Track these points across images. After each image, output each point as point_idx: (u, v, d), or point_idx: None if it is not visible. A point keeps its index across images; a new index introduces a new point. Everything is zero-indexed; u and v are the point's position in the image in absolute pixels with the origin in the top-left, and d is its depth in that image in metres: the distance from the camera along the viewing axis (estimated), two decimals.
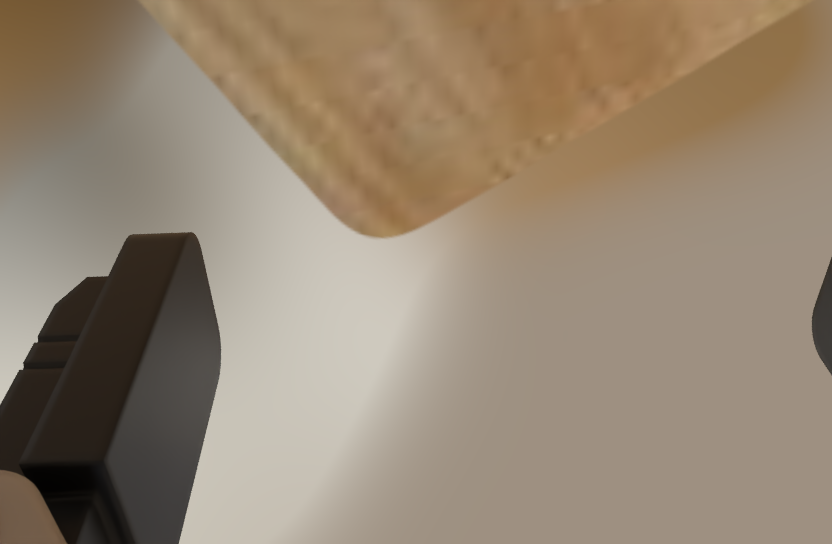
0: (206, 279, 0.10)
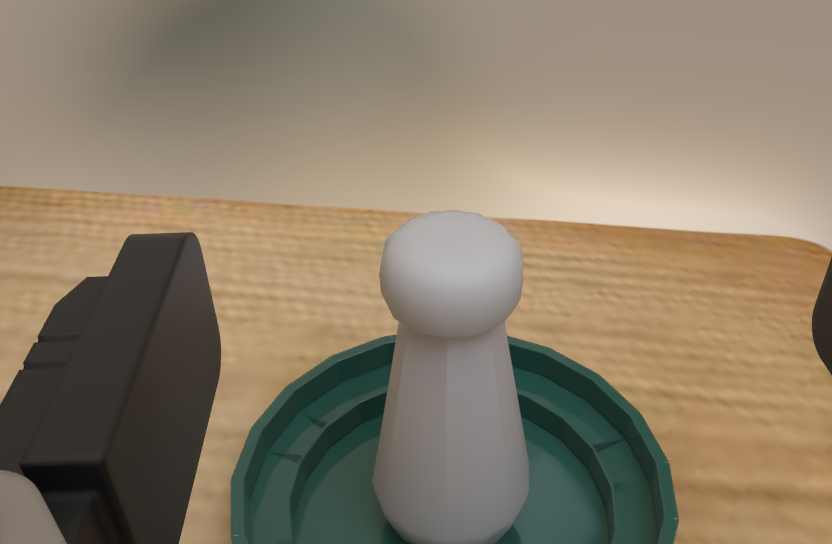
0: (206, 279, 0.10)
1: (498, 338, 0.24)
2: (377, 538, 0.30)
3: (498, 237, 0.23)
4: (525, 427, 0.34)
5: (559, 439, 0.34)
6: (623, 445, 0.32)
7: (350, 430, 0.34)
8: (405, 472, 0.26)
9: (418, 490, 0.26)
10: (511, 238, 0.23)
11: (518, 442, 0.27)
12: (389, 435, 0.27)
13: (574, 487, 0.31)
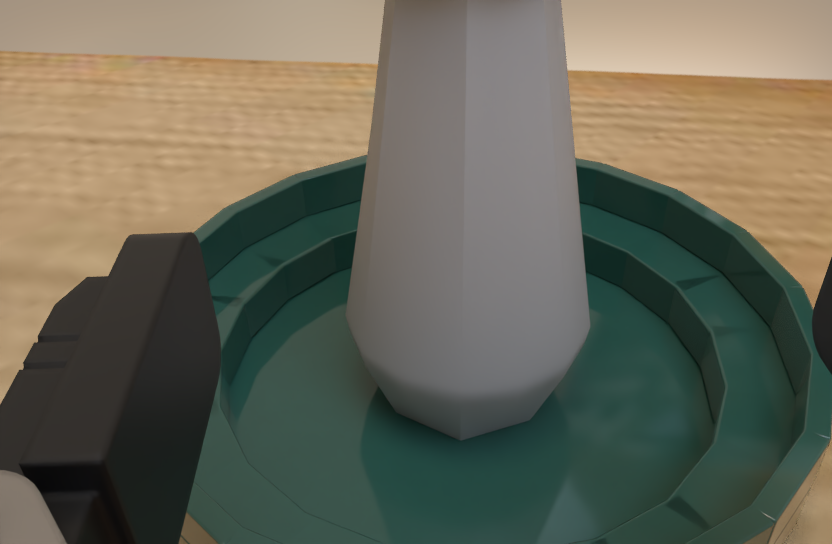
0: (206, 279, 0.10)
1: (553, 15, 0.14)
2: (355, 410, 0.20)
3: None
4: None
5: (620, 287, 0.23)
6: (720, 282, 0.21)
7: (319, 280, 0.24)
8: (395, 273, 0.16)
9: (416, 302, 0.16)
10: None
11: (578, 231, 0.17)
12: (370, 217, 0.16)
13: (648, 344, 0.21)
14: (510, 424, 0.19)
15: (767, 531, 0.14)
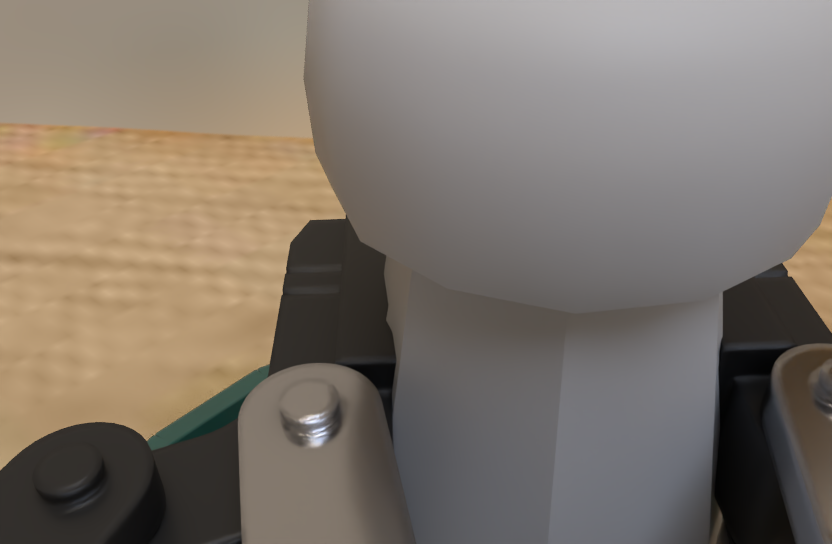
0: None
1: (720, 321, 0.07)
2: None
3: None
4: None
5: None
6: None
7: None
8: None
9: None
10: None
11: None
12: None
13: None
14: None
15: None
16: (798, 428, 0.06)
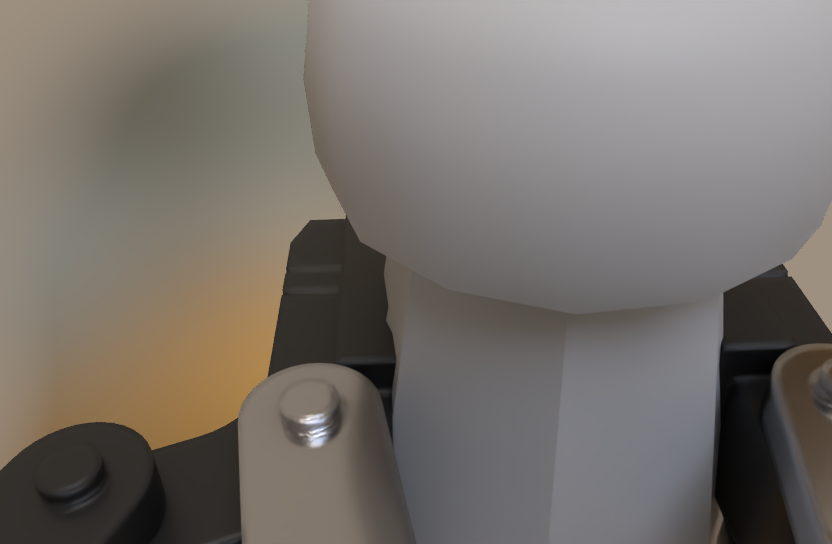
0: None
1: (721, 321, 0.07)
2: None
3: None
4: None
5: None
6: None
7: None
8: None
9: None
10: None
11: None
12: None
13: None
14: None
15: None
16: (798, 428, 0.06)
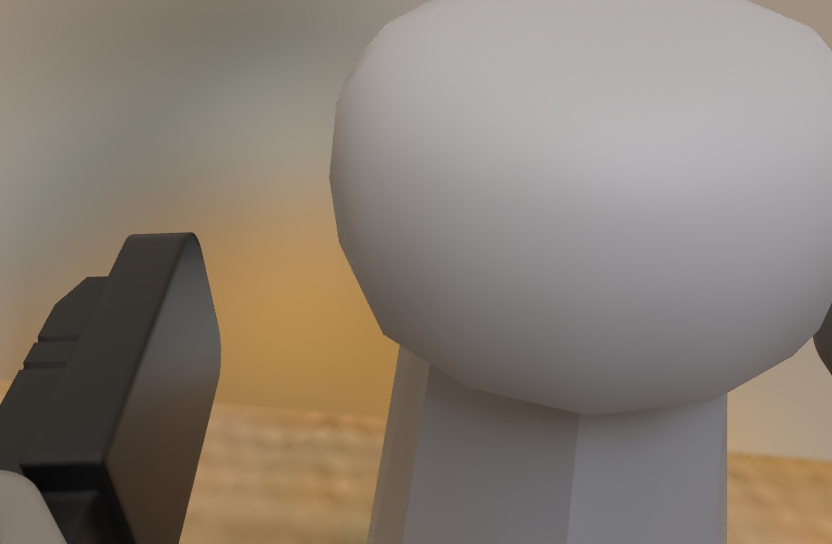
0: (206, 279, 0.10)
1: (725, 397, 0.07)
2: None
3: (780, 25, 0.06)
4: None
5: None
6: None
7: None
8: None
9: None
10: None
11: None
12: None
13: None
14: None
15: None
16: None
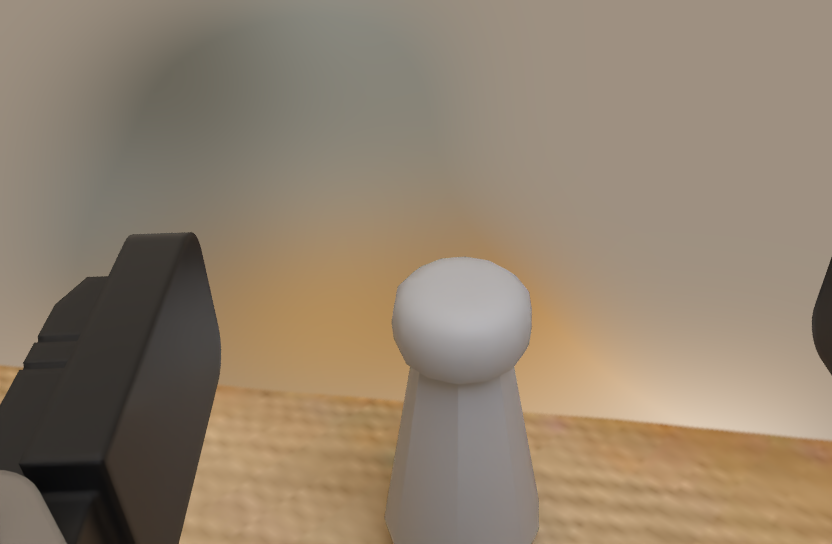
0: (206, 279, 0.10)
1: (507, 381, 0.25)
2: None
3: (507, 285, 0.24)
4: None
5: None
6: None
7: None
8: (417, 511, 0.27)
9: (430, 529, 0.27)
10: (520, 285, 0.24)
11: (528, 480, 0.27)
12: (402, 474, 0.27)
13: None
14: None
15: None
16: None
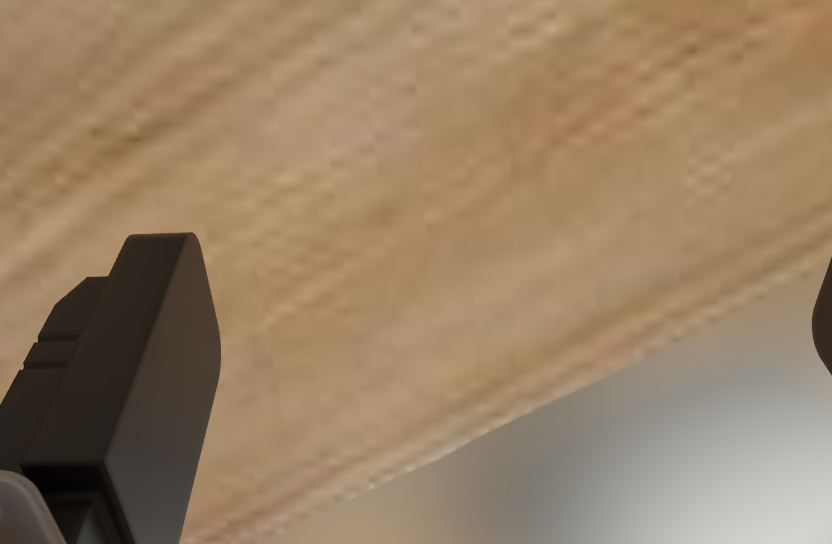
0: (206, 279, 0.10)
1: None
2: None
3: None
4: None
5: None
6: None
7: None
8: None
9: None
10: None
11: None
12: None
13: None
14: None
15: None
16: None
